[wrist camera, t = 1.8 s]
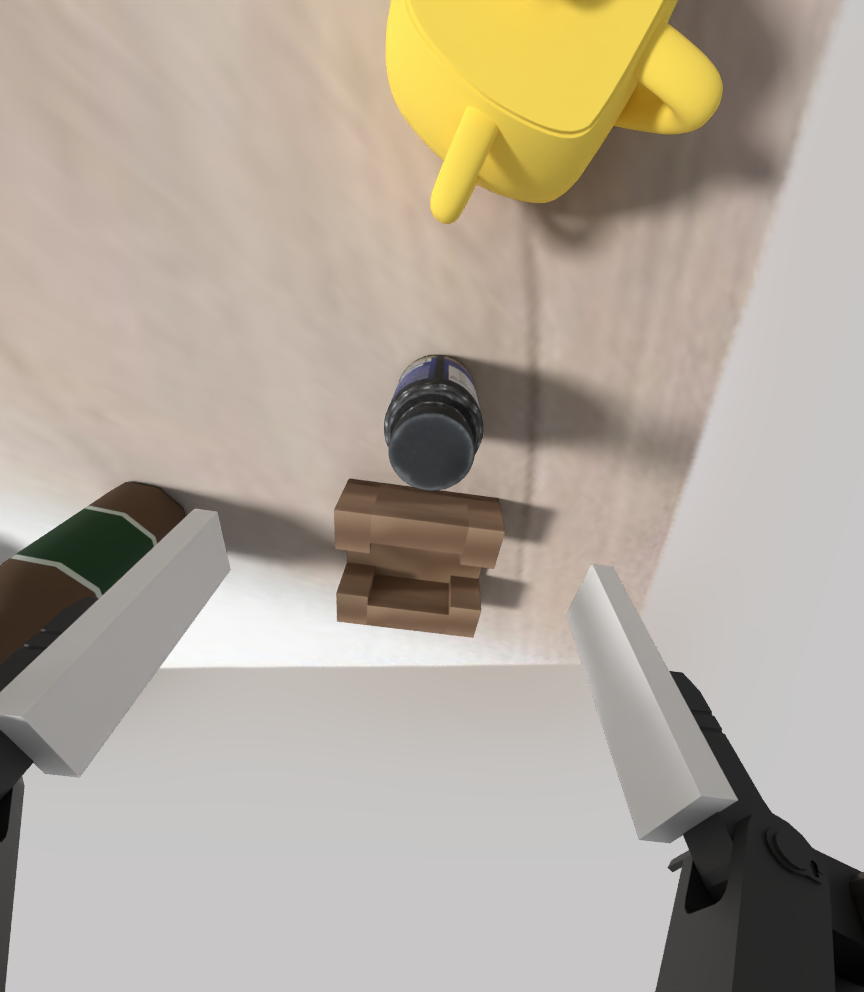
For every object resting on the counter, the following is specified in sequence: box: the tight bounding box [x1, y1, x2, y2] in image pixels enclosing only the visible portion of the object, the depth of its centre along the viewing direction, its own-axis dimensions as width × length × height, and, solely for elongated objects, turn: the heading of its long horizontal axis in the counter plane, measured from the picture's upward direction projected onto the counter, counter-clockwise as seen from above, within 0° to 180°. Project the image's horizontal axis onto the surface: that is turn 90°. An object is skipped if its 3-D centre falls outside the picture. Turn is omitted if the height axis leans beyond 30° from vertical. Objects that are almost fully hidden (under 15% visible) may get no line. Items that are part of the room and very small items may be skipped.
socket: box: [334, 479, 505, 638], centre depth 35 cm, size 14×14×5 cm
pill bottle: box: [384, 355, 483, 491], centre depth 24 cm, size 6×6×11 cm
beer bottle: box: [0, 482, 185, 665], centre depth 26 cm, size 8×8×24 cm
